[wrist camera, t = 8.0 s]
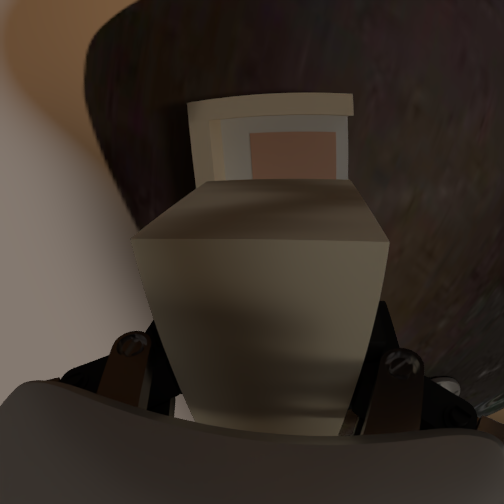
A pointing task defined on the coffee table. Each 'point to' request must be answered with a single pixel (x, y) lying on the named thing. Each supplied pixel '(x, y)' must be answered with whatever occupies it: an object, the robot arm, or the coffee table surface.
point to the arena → (270, 136)
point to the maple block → (265, 299)
